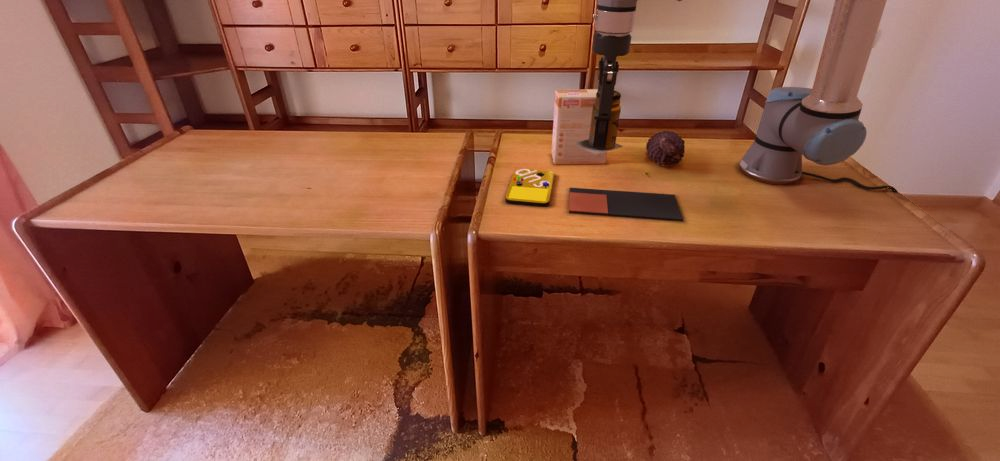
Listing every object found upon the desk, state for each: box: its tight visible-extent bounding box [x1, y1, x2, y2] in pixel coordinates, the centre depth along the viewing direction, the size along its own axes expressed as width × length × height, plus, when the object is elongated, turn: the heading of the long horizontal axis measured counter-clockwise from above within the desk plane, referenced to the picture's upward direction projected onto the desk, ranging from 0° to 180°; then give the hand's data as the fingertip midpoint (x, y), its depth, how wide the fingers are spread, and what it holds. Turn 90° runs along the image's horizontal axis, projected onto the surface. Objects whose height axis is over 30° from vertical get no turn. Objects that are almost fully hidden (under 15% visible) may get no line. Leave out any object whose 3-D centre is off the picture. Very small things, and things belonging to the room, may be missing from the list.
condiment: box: [575, 90, 624, 154], centre depth 105 cm, size 7×8×12 cm
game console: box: [504, 168, 555, 208], centre depth 123 cm, size 18×11×2 cm, turn 171°
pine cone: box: [645, 130, 686, 167], centre depth 135 cm, size 18×10×10 cm
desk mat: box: [568, 187, 684, 222], centre depth 116 cm, size 26×12×1 cm, turn 82°
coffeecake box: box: [551, 88, 608, 165], centre depth 133 cm, size 15×7×20 cm, turn 92°
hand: (598, 140), depth 108 cm, fingers closed on condiment, 6 cm apart
